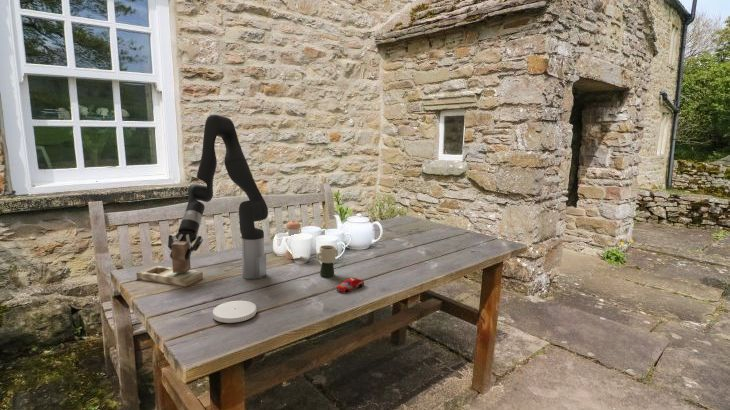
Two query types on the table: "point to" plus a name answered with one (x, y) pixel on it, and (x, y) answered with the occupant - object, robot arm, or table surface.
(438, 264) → the table surface
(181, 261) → the walnut block
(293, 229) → the pepper shaker
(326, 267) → the character mug
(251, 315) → the plastic lid
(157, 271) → the puzzle board
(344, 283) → the race car
